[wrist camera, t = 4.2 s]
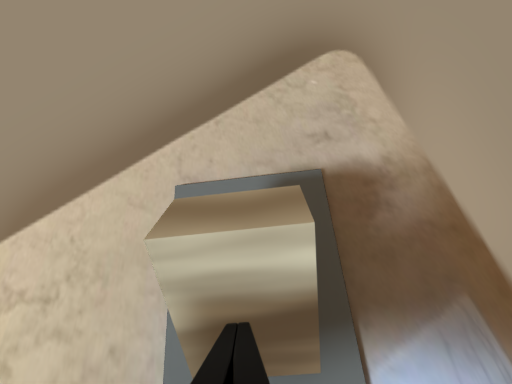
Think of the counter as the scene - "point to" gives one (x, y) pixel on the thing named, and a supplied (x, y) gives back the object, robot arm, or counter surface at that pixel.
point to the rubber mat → (328, 286)
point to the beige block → (241, 274)
